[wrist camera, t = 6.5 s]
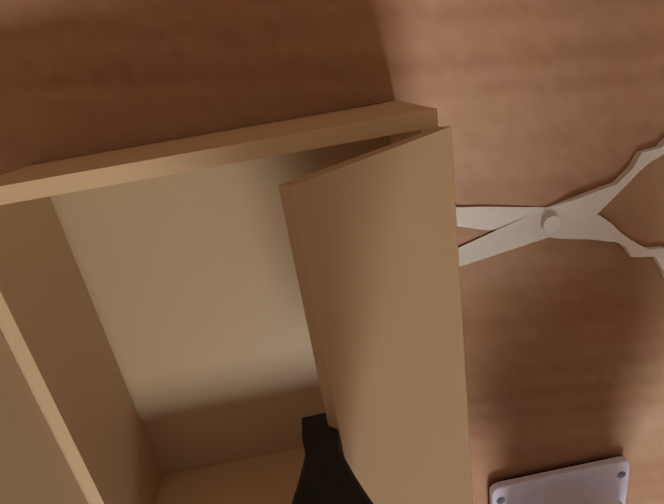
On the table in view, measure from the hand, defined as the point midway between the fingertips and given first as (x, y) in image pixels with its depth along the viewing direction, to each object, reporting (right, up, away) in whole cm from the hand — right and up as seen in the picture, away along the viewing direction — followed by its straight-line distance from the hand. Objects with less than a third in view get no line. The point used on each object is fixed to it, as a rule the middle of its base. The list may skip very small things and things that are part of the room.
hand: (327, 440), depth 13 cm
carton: (-3, +3, +7) cm, 8 cm away
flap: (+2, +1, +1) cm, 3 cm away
